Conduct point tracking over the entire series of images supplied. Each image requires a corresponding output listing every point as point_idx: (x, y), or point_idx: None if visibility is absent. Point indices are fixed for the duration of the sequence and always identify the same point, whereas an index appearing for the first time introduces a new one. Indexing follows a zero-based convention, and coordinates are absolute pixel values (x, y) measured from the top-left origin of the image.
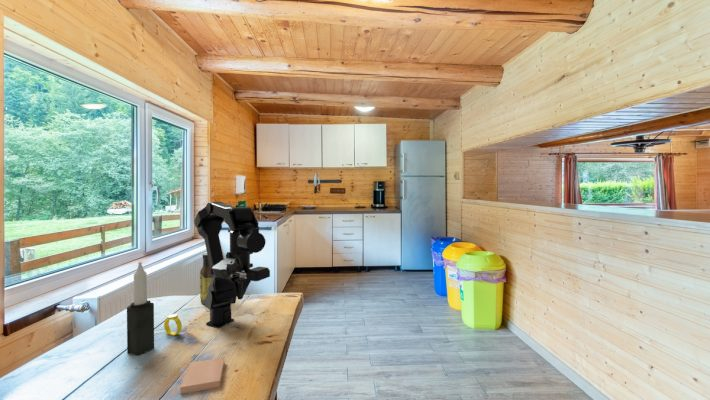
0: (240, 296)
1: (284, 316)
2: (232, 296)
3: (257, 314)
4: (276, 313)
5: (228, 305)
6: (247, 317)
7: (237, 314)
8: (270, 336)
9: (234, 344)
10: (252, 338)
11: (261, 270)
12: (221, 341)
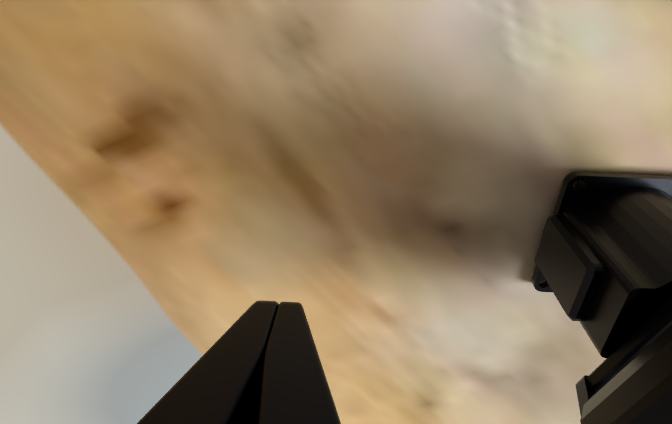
0: (229, 338)
1: None
2: (601, 417)
3: (444, 377)
4: (348, 409)
5: (612, 339)
6: (478, 337)
7: (568, 348)
8: (164, 204)
9: (289, 25)
10: (243, 143)
11: None
12: (416, 22)
